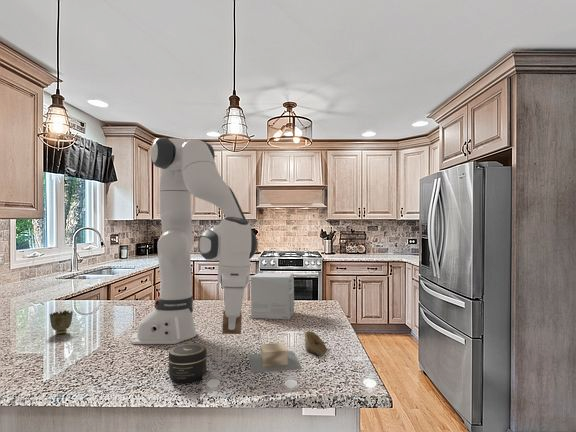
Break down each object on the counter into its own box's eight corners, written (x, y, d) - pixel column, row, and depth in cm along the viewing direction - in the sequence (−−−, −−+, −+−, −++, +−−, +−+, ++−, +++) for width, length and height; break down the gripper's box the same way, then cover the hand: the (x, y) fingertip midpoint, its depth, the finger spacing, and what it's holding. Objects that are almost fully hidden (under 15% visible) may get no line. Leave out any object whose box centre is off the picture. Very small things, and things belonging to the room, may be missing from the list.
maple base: (263, 366, 104) (263, 352, 104) (260, 357, 111) (260, 344, 111) (288, 364, 106) (287, 350, 106) (283, 355, 113) (283, 342, 113)
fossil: (307, 341, 111) (306, 325, 121) (297, 351, 112) (297, 334, 122) (329, 359, 112) (327, 342, 122) (319, 369, 113) (318, 351, 123)
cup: (77, 332, 142) (77, 311, 142) (58, 337, 135) (58, 315, 135) (64, 330, 145) (64, 309, 145) (45, 335, 138) (45, 313, 138)
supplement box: (294, 312, 170) (294, 272, 170) (289, 320, 157) (289, 277, 157) (258, 311, 173) (257, 272, 173) (250, 318, 160) (250, 276, 160)
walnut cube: (222, 333, 100) (223, 315, 101) (222, 328, 105) (223, 310, 105) (240, 333, 101) (241, 315, 101) (240, 328, 106) (241, 311, 106)
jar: (204, 384, 95) (203, 355, 96) (164, 386, 95) (164, 356, 95) (209, 369, 105) (209, 342, 106) (173, 370, 105) (173, 343, 105)
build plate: (252, 376, 100) (252, 372, 100) (248, 357, 114) (248, 354, 114) (302, 372, 103) (302, 368, 103) (292, 354, 117) (292, 351, 117)
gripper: (223, 270, 113) (220, 315, 113) (221, 281, 93) (219, 336, 93) (243, 270, 114) (241, 316, 114) (247, 281, 94) (244, 336, 94)
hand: (231, 325), depth 103 cm, fingers closed on walnut cube, 5 cm apart
